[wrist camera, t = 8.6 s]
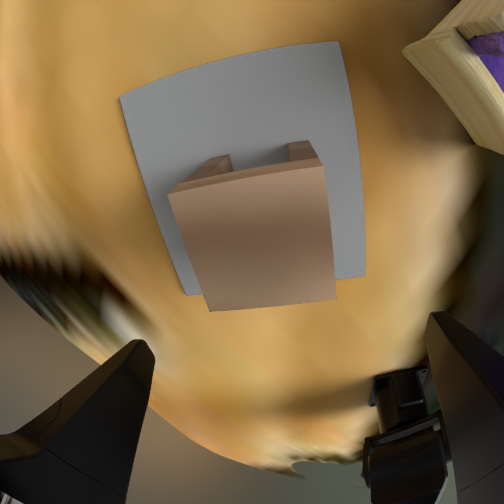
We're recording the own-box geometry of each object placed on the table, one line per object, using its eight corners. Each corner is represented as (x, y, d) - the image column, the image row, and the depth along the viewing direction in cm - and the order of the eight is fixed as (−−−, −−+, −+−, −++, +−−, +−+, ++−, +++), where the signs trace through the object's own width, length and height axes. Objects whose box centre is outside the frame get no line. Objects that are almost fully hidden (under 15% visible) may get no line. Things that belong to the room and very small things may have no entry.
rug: (364, 272, 20) (365, 275, 20) (187, 292, 23) (186, 295, 22) (337, 42, 12) (338, 41, 12) (122, 95, 15) (119, 96, 15)
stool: (321, 230, 18) (336, 299, 12) (233, 243, 20) (209, 311, 14) (308, 140, 15) (323, 165, 9) (210, 158, 17) (167, 194, 11)
